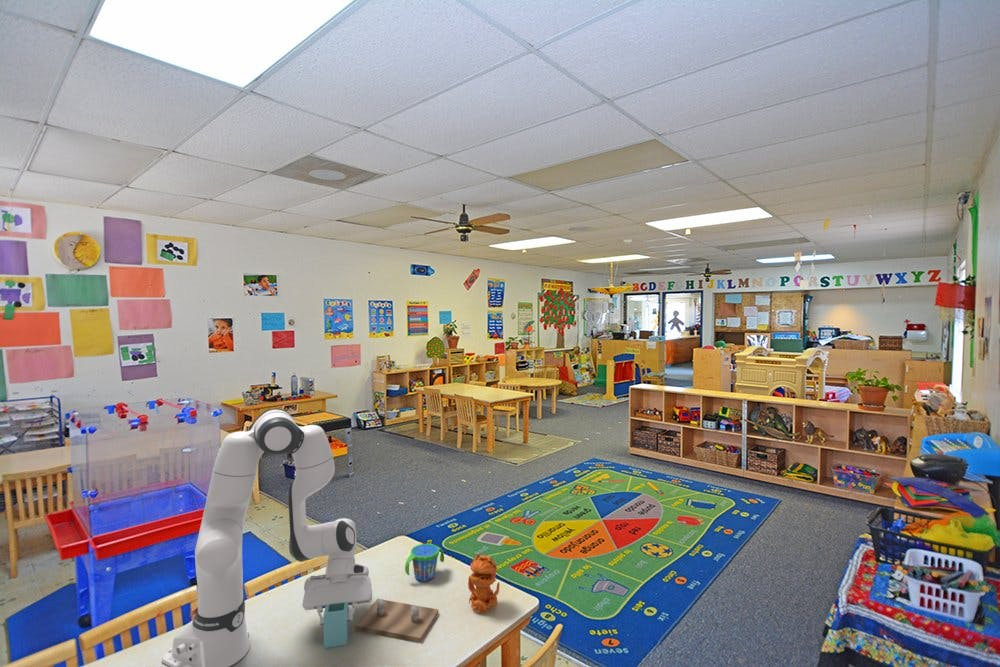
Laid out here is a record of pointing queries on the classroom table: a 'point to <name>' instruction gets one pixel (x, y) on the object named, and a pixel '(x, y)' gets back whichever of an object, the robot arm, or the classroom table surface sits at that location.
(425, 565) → the snack cup
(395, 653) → the classroom table surface
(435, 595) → the classroom table surface
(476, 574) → the orange animal figurine
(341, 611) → the sleeve block
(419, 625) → the pin plate
